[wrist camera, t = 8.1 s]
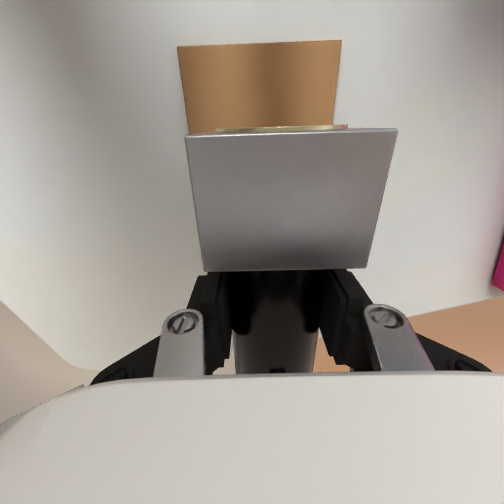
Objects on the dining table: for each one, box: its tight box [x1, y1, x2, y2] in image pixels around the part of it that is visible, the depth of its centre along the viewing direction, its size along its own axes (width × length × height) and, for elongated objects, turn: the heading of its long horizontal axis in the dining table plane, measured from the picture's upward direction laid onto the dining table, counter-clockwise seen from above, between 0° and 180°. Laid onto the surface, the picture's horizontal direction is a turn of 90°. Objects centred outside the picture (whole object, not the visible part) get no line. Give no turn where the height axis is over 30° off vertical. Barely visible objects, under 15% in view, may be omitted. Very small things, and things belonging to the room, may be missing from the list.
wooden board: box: [177, 40, 342, 135], centre depth 21 cm, size 11×22×1 cm, turn 2°
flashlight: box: [185, 125, 398, 374], centre depth 10 cm, size 13×5×5 cm, turn 2°
